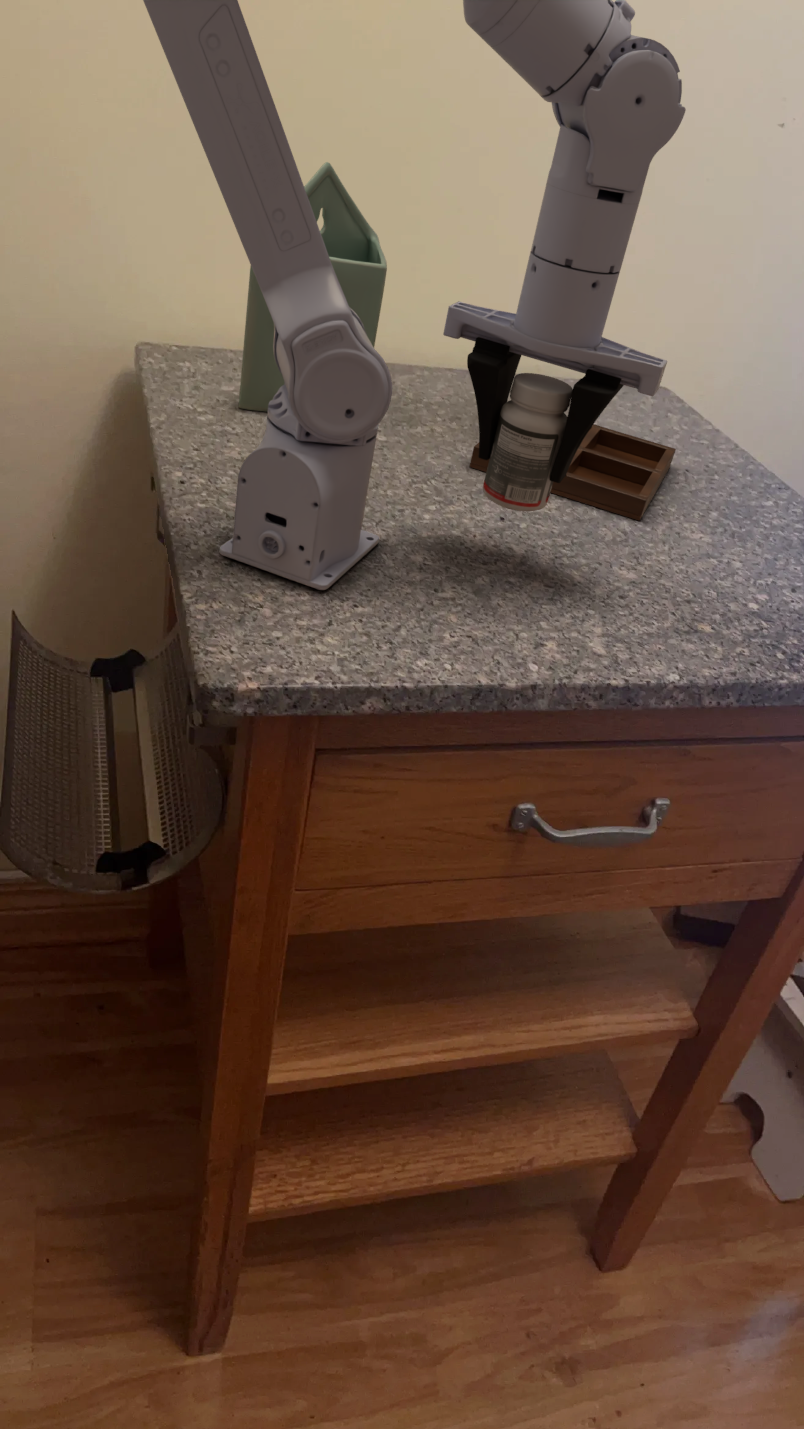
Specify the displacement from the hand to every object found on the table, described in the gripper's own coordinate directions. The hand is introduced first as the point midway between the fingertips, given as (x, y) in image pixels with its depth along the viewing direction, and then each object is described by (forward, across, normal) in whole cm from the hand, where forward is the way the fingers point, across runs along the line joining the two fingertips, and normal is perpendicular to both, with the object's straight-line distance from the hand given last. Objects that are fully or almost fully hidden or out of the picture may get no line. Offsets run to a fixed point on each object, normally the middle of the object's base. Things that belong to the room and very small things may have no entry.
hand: (522, 466), depth 72 cm
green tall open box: (+7, +23, -19) cm, 31 cm away
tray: (+7, 0, -23) cm, 24 cm away
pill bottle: (+3, 0, 0) cm, 3 cm away
